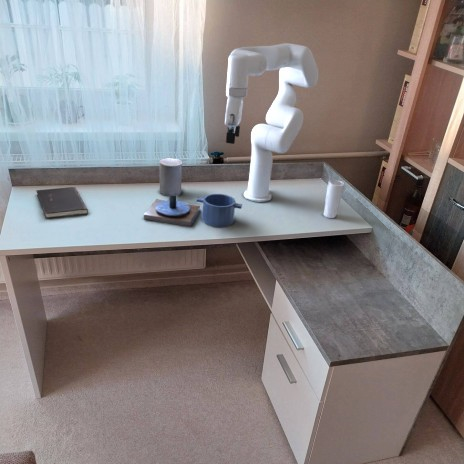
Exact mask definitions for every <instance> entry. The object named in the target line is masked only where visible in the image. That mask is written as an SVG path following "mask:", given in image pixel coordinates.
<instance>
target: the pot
mask: <svg viewBox="0 0 464 464" xmlns="http://www.w3.org/2000/svg"><path fill="white" fill-rule="evenodd" d="M195 202H196V203H202V209H201V211H202V212H201V219H202V222H203V223H204V224H206V225H208V226H210V227H211V226H212V227H217V228H223V227H224V228H225V227H229V226H231V225H233V223H234V221H235V213H236V209H242V207H243V204H242V203H238V202H237V201H236V199H235V198H234V197H233V196H231V195H228V194H223V193H210V194H207V195H204V197H200V196H199V197H197V198H196V201H195Z"/></svg>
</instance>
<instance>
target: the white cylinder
mask: <svg viewBox="0 0 464 464" xmlns="http://www.w3.org/2000/svg"><path fill="white" fill-rule="evenodd" d="M344 190H345V182H344V181H342V180H339V179H329V181H328V182H327V187H326V193H325V202H324V209H323V216H324V217H325V218H328V219H334V218H336V217H337V212H338V209H339V206H340V203H341V200H342V197H343V194H344Z"/></svg>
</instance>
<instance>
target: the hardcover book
mask: <svg viewBox="0 0 464 464" xmlns="http://www.w3.org/2000/svg"><path fill="white" fill-rule="evenodd" d="M35 192H36V196H37V199H38V202H39V205H40V208H41V210H42V213H43V215H44V217H45V219H46V220H47V219H57V218H64V217H65V218H66V217H72V216H73V217H74V216H82V215H88V214H89V209H88V208H87V206H86V204H85V202H84V200H83V198H82V197H81V195H80V193H79V191H78V190H77V187H75V186H69V187H67V186H66V187H56V188H45V189H36V190H35Z"/></svg>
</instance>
